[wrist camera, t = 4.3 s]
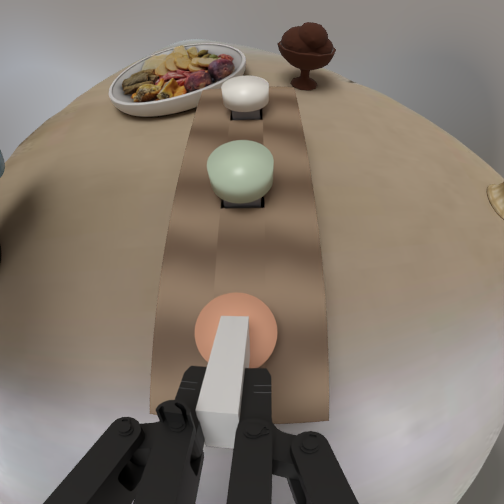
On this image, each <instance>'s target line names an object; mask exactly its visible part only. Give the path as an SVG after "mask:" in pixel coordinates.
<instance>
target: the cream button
mask: <svg viewBox="0 0 504 504" xmlns="http://www.w3.org/2000/svg"><path fill="white" fill-rule="evenodd" d="M221 89H222V97H223V104H224V106H225V107H226V108H228V109H230V110H232V117H233V120H260V109H261V108H263V107H265V106H266V105H267V104H268V102H269V84H268V82H267V81H266V80H265V79H263V78H260V77H257V76H238V77H234V78H231V79H229V80H227V81H225V82H224V83H223V84H222V86H221Z"/></svg>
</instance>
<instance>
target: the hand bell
mask: <svg viewBox="0 0 504 504" xmlns="http://www.w3.org/2000/svg"><path fill="white" fill-rule="evenodd" d="M487 195H488V198H489V201H490V203H491V205H492V207H493V208H494V210H495V211H496V213H497V214H498V215H499V216H500V217H501V218H502V219H504V182H503V183H501V184H499V185H495V184H491V185H489V186H488V188H487Z"/></svg>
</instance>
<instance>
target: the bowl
mask: <svg viewBox="0 0 504 504" xmlns="http://www.w3.org/2000/svg"><path fill="white" fill-rule="evenodd" d="M245 68H246V58H245V55H244V54H243V53H242V52H241V51H240V50H238V49H236V48H234V47H231V46H228V45H223V44H213V43H202V44H191V45H184V46H179V47H175V48H171V49H167V50H164V51H161V52H158V53H156V54H153V55H151V56H148V57H146V58H144V59H142V60H140V61H138V62H137V63H135V64H133V65H132V66H130V67H129V68H127V69H126V70H125V71H123V72H122V73H121V74H120V75H119V76H118V77H117V78H116V79H115V80H114V82H113V83H112V85H111V86H110V89H109V97H110V99H111V101H112V103H113V104H114V106H115V107H116V108H117V109H119V110H120V111H122V112H124V113H127V114H130V115H134V116H143V117H150V116H162V115H169V114H174V113H178V112H182V111H186V110H189V109H192V108H195V107H197V106H198V103H199V99H200V96H201V93H202V90H207V89H219V88H221V86H222V84H223V83H224V82H225V81H227V80H229V79H231V78H234V77H238V76H243V74H244V72H245Z"/></svg>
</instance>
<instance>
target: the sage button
mask: <svg viewBox="0 0 504 504" xmlns="http://www.w3.org/2000/svg"><path fill="white" fill-rule="evenodd" d="M273 164H274V160H273V156H272V154H271V152H270V151H269V150H268V149H267V148H266V147H265V146H263V145H262V144H260V143H257V142H254V141H249V140H236V141H231V142H228V143H225V144H223V145H221V146H219V147H218V148H216V149H215V150H214V151H213V152H212V153H211V154H210V156H209V158H208V161H207V170H208V174H209V179H210V183H211V186H212V189H213V191H214V193H215V194H216V195H217V196H218V197H220V198H221V199H223V202H224V207H225V208H261V197H263V196H264V195H265V194H266V193H267V192H268V191H269V190H270V188H271V186H272V183H273Z"/></svg>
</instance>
